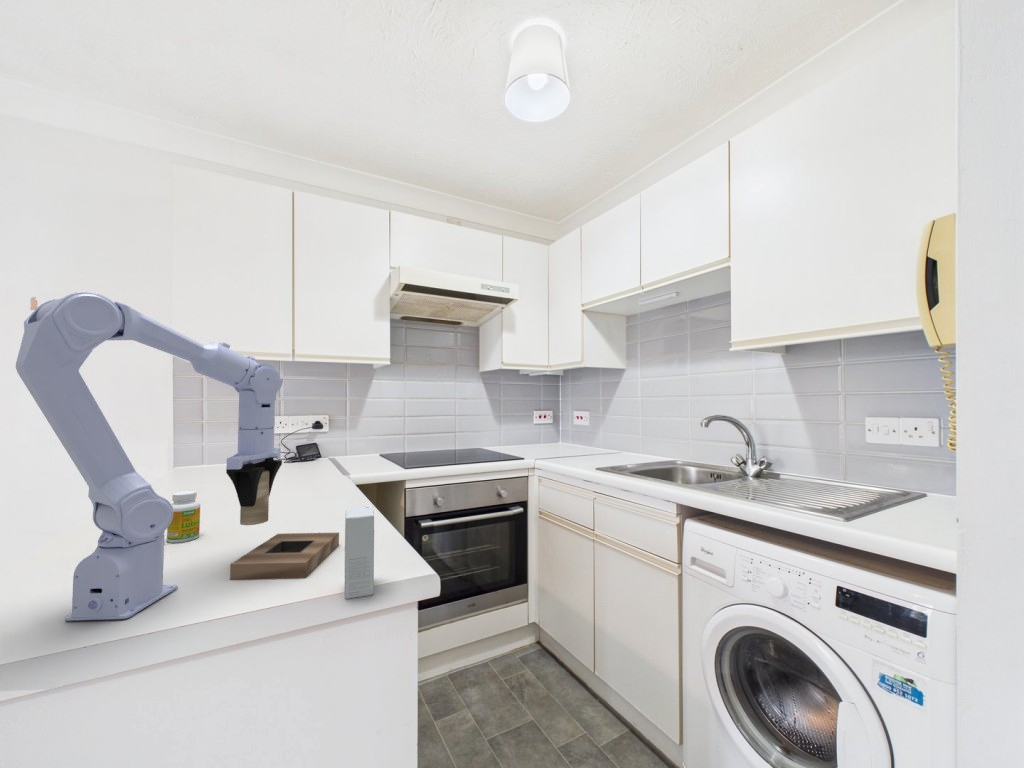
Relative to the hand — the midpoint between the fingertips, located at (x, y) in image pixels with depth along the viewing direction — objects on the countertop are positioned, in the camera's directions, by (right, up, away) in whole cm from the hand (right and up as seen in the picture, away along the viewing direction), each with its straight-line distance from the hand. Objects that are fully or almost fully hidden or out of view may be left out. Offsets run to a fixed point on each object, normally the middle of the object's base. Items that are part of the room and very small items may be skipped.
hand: (254, 502), depth 76 cm
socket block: (+7, -11, 0) cm, 12 cm away
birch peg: (0, -3, 0) cm, 3 cm away
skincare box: (+23, -10, -12) cm, 28 cm away
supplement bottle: (-22, -11, +11) cm, 27 cm away
